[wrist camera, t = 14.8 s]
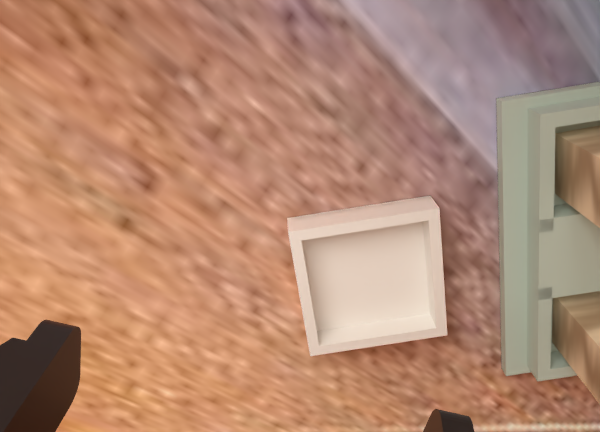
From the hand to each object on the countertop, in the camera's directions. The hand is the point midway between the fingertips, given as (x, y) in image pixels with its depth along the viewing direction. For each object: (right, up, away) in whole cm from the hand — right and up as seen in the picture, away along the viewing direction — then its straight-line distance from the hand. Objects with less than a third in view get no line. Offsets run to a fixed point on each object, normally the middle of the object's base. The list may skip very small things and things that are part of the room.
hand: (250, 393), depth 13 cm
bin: (+6, 0, +31) cm, 32 cm away
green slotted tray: (+22, +2, +31) cm, 38 cm away
